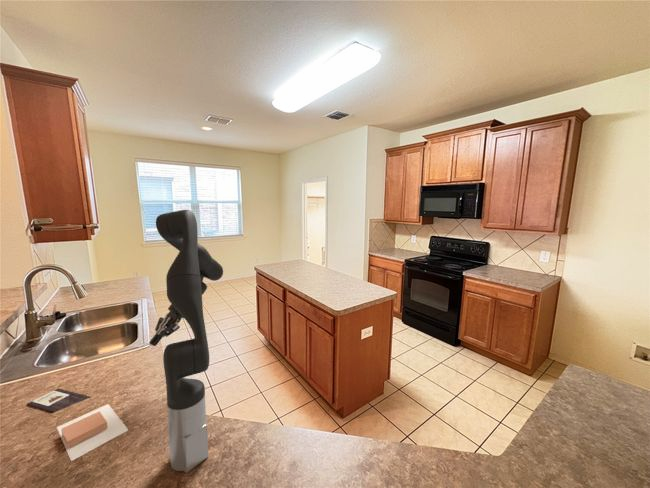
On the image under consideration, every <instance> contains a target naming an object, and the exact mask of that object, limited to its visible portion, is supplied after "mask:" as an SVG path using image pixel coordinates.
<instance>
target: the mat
mask: <svg viewBox="0 0 650 488" xmlns="http://www.w3.org/2000/svg"><path fill="white" fill-rule="evenodd" d="M99 411H100V413H101V414H102V416H103V417H104V418H105V420H106V421H107V429H105V430H103V431H101V432H99V433H97V434H95V435H93V436H91V437H89V438H87V439H85V440H83V441H81V442H79V443H77V444H76V445H74V446H72V447H70V448H68V447H67V445H66V443H65V441H64V439H63V436H62V431H61V429H62V428H64V427H66V426H69V425H71V424H73V423H75V422H77V421H79V420H82V419H84V418H86V417H88V416H90V415H92V414H95V413H97V412H99ZM56 429H57V432H58V434H59V436H60V438H61V441H62V442H63V445H64V448H65V450H66V453H67V454H68V455H67V456H68V457H69V460H70V461H71V462H72V461H74V460H76V459H78V458H79V457H82V456H84V455H85V454H87V453H90V452H91V451H93V450H95V449H97V448H98V447H100V446H102V445H103V444H107V443H108V442H109V441H111V440H113V439H115V438H117V437H118V436H121V435H122V434H124V433H125V432H128V431H129V429H128V427H127V426H126V425H125V424H124V422H123V421H122V420H121V418H120V417H119V416H118V415H117V413H116V412H115V410H114V409H113V408H112V407H111V406H110V404H109V403H107V404H105V405H103V406H100V407H97V408H96V409H94V410H92V411H89V412H88V413H85V414H83V415H81V416H79V417H76V418H74V419H72V420H70V421H68V422H65V423H63V424H61V425H59V426H56Z"/></svg>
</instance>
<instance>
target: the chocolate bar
mask: <svg viewBox="0 0 650 488" xmlns="http://www.w3.org/2000/svg"><path fill="white" fill-rule="evenodd" d="M89 398H90V399H91V396H89V395H86V394H82V393H79V392H78V393H77V392H73V391H70V390H67V389H62V388H57V389H55V390H52V391H50V392H48V393H46V394H44V395H41V396H40V397H38V398H36V399H34V400H31V401H30V402H28V403H26V406H28V407H31V408H36V409H38V410H42V411H46V412H49V413H53V414H54V413H56V412H59V411H61V410H63V409H65V408H69V407H71V406H73V405H75V404H78V403H81V402H83V401H85V400H88V399H89Z"/></svg>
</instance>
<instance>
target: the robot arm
mask: <svg viewBox="0 0 650 488" xmlns="http://www.w3.org/2000/svg"><path fill="white" fill-rule="evenodd" d="M155 226H156V230H157V232H158V234H159V236H160V237H161V238H162V239H163V240H164V241H165V242H166V243H168V244H169V245H170V246H173V248H175V249H176V250H178V251H179V252H178V254H177V255H176V257H175V259H174V260H173V262H172V263H171V265H170V267H169V268H168V271H167V273H166V279H165V280H166V281H165V282H166V296H167V299H168V302H169V303H170V305H169V306H168V308H167V309H168V310H167V311H169V312H167V314H165V316H164V317H162V316H160V317H159V319H158V321H157V323H156V326H155V329H154V331H155V334H154V335H153V337H152V338H151V339H150V341H148V343H149V345H150V346H153V347H156V346H157V345H158V344H159V343H160V341H161V340H162V338H164V337H166V338H167V337H169V336H170V335H172V334H173V333H175V332H176V331H178V330H179V329H180V327H181V326H180V325H179V323H180V322H181V320H182V319H184V320H185V321H186V322H187V324H188V325H189V327H190V329H191V331H192V334H193V337H194V338H191V339H187V340H182V341H177V342H173V343H170V344H167V345H166V346H165V348H164V350H163V356H162V357H163V359H162V360H163V361H162V362H163V371H164V378H165V384H166V385H165V386H166V387H165V389H166V408H167V409H166V410H167V425H168V426H167V428H168V441H169V442H168V444H169V460H170V461H169V462H170V468H171V469H173V470H174V471H176V472H184V473H185V474H187V473H189V472H191V470H193V469H194V468H196V467H197V466H199V464H201V463H202V462H203V461H205V460H206V459H207V458H209V442H208V441H209V438H208V425H207V411H206V410H207V409H206V389H205V388H206V387H205V384H204V382H203V381H201V380H200V379H196V378H187V377H190V376H194V375H197V374H200V373H201V374H202V373H205V372H206V371H207V370H208V369H209V367H210V351H209V350H210V349H209V344H208V342H209V341H208V338H207V337H208V336H207V331H206V322H205V318H204V317H205V315H204V308H203V295H204V294H205V292H206V291H207V289H208V285H207V284H206V283H205V282H204V278H206V279H208V280H210V281H218V280H220V279H222V277H223V275H224V268H223V266H222V265H221V264H220V263H219V262H218V261H217V260H215V258H213V257H212V255H211V254H210V252H209V251H208V249H207V248H205V246H203V245H202V244H199V243H198V234H199V233H198V221H197V219H196V215H195V214H194V212H193V211H191V210H190V209H180V210H176V211H170V212H165V213H162V214H159V215H157V217H156V219H155Z"/></svg>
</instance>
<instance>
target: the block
mask: <svg viewBox="0 0 650 488" xmlns="http://www.w3.org/2000/svg"><path fill="white" fill-rule="evenodd" d="M105 429H107V421H106V420H105V418H104V417H103V416H102V414H101V413H100V411H99V412H97V413H95V414H92V415H90V416H88V417H86V418H84V419H82V420H79V421H77V422H75V423H73V424H71V425H69V426H66V427H64V428H62V429H61V431H62V436H63V439H64V441H65V443H66V445H67V447H68V448H70V447H72V446H74V445H76V444H77V443H79V442H81V441H83V440H85V439H87V438H89V437H91V436H93V435H95V434H97V433H99V432H101V431H103V430H105Z"/></svg>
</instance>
